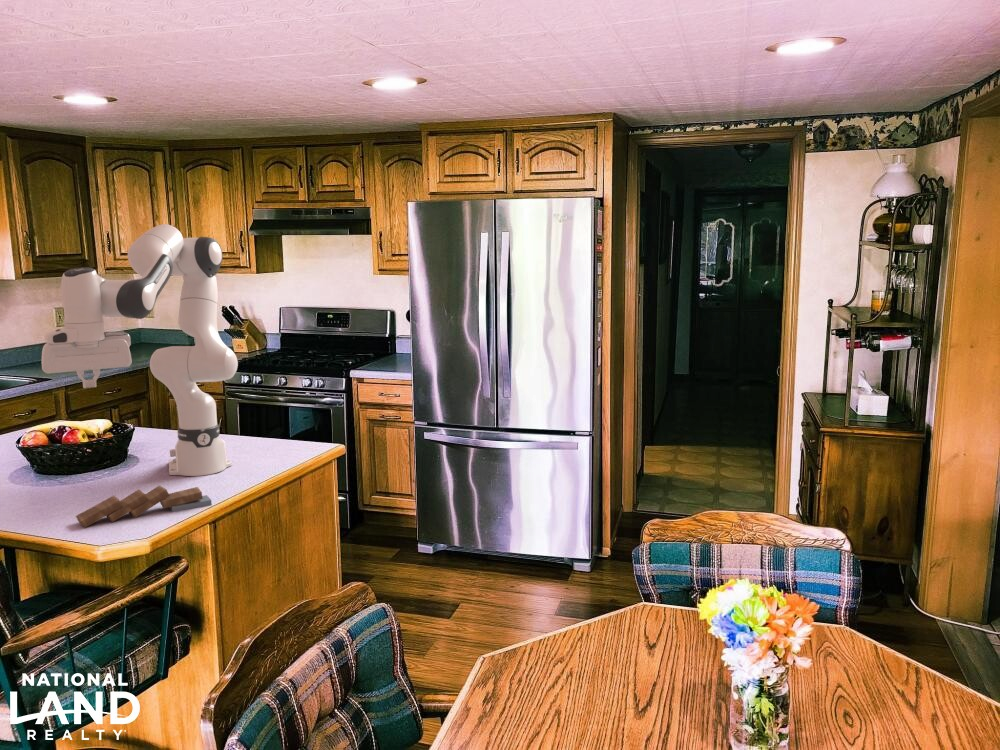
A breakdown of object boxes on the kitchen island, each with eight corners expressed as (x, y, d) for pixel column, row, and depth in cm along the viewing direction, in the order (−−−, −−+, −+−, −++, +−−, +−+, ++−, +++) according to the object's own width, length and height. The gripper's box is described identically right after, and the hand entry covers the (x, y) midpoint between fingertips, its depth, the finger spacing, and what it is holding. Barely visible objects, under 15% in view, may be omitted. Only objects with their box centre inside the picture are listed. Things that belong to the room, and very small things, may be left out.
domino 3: (131, 511, 206) (166, 489, 211) (124, 507, 209) (159, 485, 215) (134, 517, 207) (169, 495, 212) (128, 513, 210) (163, 491, 216)
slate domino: (172, 507, 211) (211, 500, 217) (168, 501, 215) (206, 495, 221) (172, 514, 211) (211, 507, 217) (169, 508, 216) (207, 502, 221)
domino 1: (80, 521, 199) (119, 500, 204) (75, 516, 203) (113, 495, 208) (84, 528, 200) (123, 506, 205) (79, 522, 203) (117, 501, 209)
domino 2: (108, 516, 203) (145, 493, 208) (102, 511, 206) (138, 489, 212) (112, 522, 203) (148, 499, 209) (106, 517, 207) (142, 495, 212)
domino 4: (162, 501, 210) (201, 491, 215) (159, 496, 214) (197, 486, 219) (163, 508, 211) (202, 498, 216) (160, 503, 215) (198, 493, 220)
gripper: (127, 329, 208) (132, 381, 211) (37, 334, 197) (43, 389, 200) (132, 331, 203) (136, 385, 206) (40, 337, 192) (45, 393, 194)
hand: (89, 387), depth 203 cm, fingers closed
